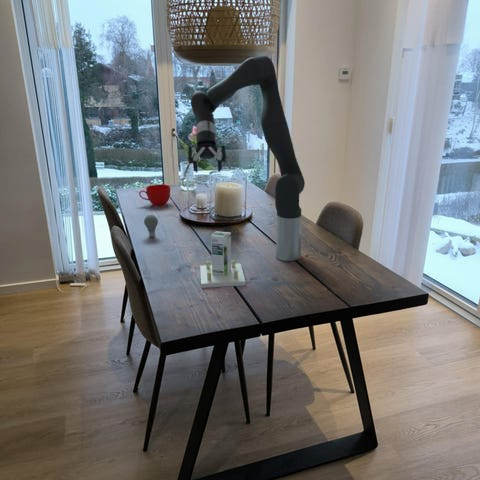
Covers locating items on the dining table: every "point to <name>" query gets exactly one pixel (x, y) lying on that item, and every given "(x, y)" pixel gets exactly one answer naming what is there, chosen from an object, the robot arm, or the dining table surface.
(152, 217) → the light bulb
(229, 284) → the pin plate
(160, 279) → the dining table surface
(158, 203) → the ceramic cup
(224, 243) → the syrup box
